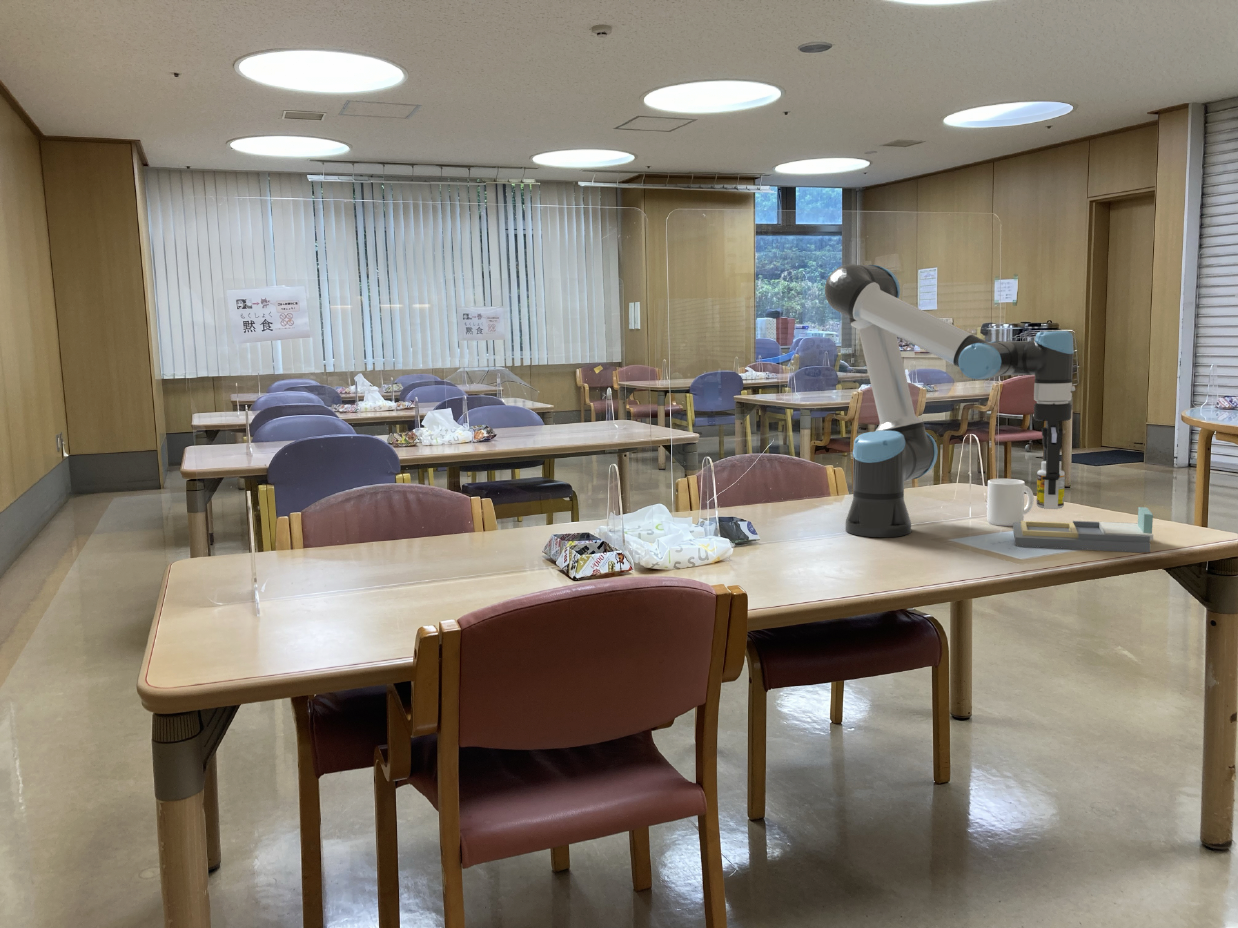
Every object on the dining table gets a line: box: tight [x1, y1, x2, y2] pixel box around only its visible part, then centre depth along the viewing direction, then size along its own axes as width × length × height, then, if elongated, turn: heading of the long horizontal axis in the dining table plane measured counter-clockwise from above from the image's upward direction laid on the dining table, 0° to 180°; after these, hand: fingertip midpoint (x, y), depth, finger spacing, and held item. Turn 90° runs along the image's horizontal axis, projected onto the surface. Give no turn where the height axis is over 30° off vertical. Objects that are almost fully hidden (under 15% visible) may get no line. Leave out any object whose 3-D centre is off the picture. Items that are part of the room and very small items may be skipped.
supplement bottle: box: [1036, 461, 1066, 510], centre depth 210 cm, size 6×6×10 cm
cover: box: [1098, 506, 1154, 541], centre depth 206 cm, size 9×11×5 cm
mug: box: [986, 478, 1035, 527], centre depth 230 cm, size 12×8×10 cm
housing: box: [1012, 520, 1151, 553], centre depth 209 cm, size 26×16×3 cm, turn 69°
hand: (1049, 505), depth 211 cm, fingers closed on supplement bottle, 6 cm apart
